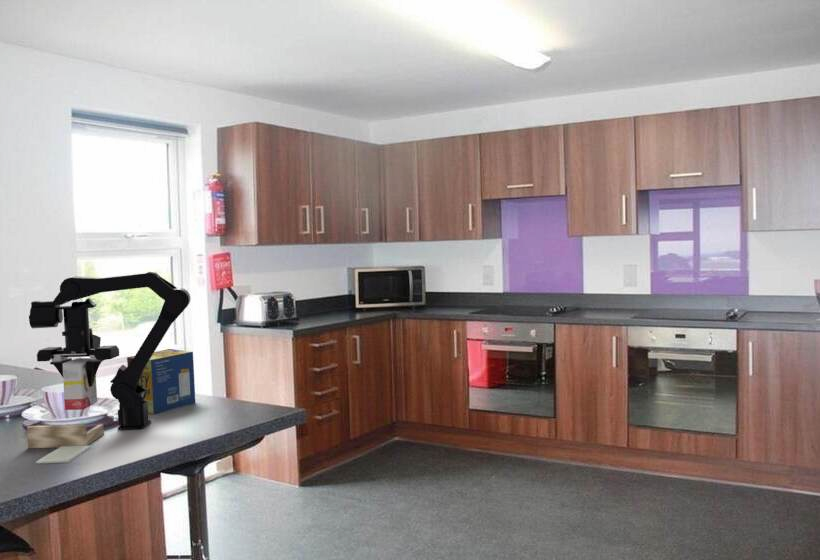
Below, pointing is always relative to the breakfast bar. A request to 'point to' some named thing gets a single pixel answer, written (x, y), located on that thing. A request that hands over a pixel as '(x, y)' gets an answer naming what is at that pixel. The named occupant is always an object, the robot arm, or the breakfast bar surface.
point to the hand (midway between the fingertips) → (80, 386)
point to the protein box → (168, 380)
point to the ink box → (78, 385)
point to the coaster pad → (63, 454)
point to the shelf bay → (62, 435)
